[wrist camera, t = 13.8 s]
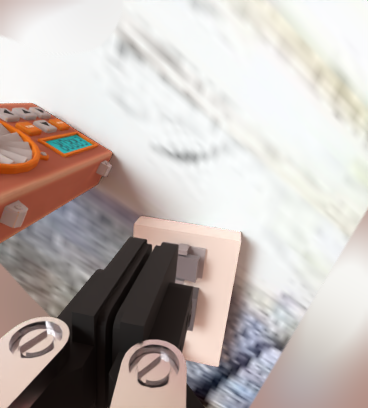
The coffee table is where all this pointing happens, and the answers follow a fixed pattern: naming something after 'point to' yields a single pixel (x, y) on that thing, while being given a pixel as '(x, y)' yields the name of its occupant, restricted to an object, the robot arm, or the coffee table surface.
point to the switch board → (201, 279)
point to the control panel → (42, 165)
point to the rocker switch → (188, 267)
